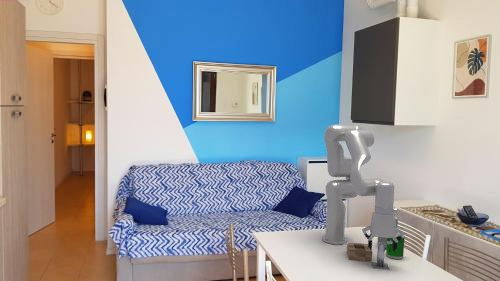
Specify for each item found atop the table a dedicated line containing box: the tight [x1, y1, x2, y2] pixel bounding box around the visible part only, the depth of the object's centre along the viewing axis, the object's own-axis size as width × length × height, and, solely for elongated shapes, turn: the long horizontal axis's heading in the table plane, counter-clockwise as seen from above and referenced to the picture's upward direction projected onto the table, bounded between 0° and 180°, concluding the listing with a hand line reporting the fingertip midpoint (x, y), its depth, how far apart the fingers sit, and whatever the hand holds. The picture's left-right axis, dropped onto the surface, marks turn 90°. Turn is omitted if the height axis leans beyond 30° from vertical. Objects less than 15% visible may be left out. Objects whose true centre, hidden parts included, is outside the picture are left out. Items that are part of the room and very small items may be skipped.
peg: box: [376, 242, 386, 267], centre depth 170 cm, size 3×3×10 cm
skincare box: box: [376, 215, 399, 250], centre depth 194 cm, size 8×7×16 cm
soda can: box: [385, 231, 406, 260], centre depth 181 cm, size 8×8×12 cm
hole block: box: [346, 241, 373, 263], centre depth 180 cm, size 10×10×5 cm
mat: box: [370, 261, 391, 271], centre depth 170 cm, size 7×7×1 cm
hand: (382, 249), depth 169 cm, fingers open, 9 cm apart
